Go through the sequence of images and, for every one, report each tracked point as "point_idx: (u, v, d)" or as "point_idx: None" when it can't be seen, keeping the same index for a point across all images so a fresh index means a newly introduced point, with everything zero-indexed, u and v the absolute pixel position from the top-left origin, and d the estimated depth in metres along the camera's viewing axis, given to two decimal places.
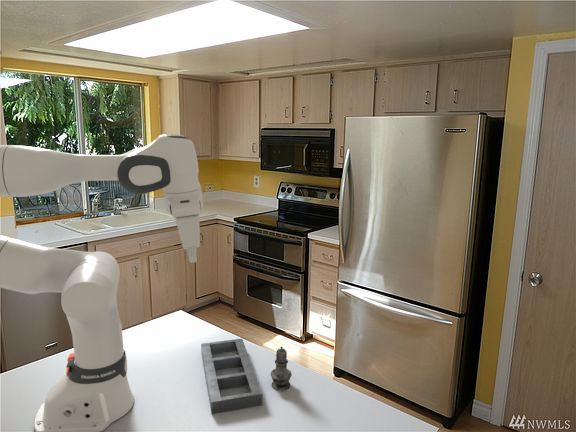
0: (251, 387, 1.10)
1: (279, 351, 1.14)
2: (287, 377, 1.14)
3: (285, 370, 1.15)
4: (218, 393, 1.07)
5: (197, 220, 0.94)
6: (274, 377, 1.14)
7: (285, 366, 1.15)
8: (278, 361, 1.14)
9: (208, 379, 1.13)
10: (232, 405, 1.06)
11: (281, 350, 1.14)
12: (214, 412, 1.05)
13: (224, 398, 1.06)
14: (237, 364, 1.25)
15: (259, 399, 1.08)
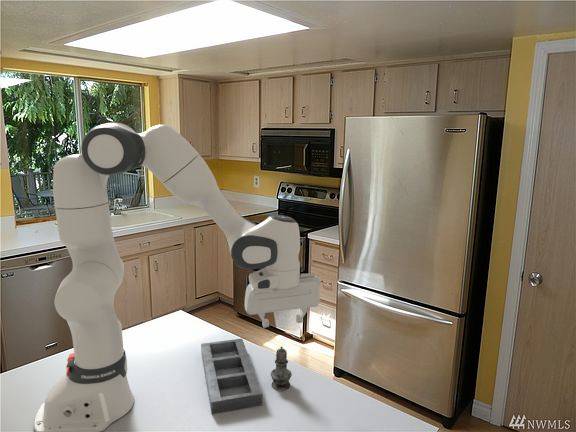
0: (251, 387, 1.10)
1: (279, 351, 1.14)
2: (287, 377, 1.14)
3: (285, 370, 1.15)
4: (218, 393, 1.07)
5: (250, 293, 1.06)
6: (274, 377, 1.14)
7: (285, 366, 1.15)
8: (278, 361, 1.14)
9: (208, 379, 1.13)
10: (232, 405, 1.06)
11: (281, 350, 1.14)
12: (214, 412, 1.05)
13: (224, 398, 1.06)
14: (237, 364, 1.25)
15: (259, 399, 1.08)
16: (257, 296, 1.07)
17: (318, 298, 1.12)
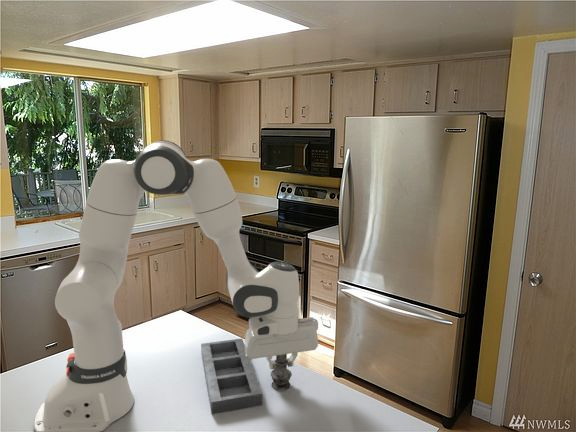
0: (251, 387, 1.10)
1: None
2: (287, 377, 1.14)
3: (285, 370, 1.15)
4: (218, 393, 1.07)
5: (250, 338, 1.09)
6: (274, 377, 1.14)
7: (285, 366, 1.15)
8: (278, 361, 1.14)
9: (208, 379, 1.13)
10: (232, 405, 1.06)
11: None
12: (214, 412, 1.05)
13: (224, 398, 1.06)
14: (237, 364, 1.25)
15: (259, 399, 1.08)
16: (257, 341, 1.10)
17: (316, 342, 1.15)
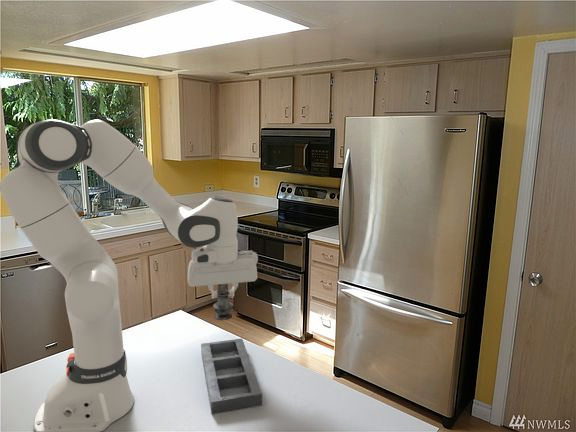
0: (251, 387, 1.10)
1: None
2: (228, 307, 1.23)
3: (226, 301, 1.23)
4: (218, 393, 1.07)
5: (190, 266, 1.17)
6: (216, 307, 1.23)
7: (226, 297, 1.23)
8: (219, 292, 1.22)
9: (208, 379, 1.13)
10: (232, 405, 1.06)
11: None
12: (214, 412, 1.05)
13: (224, 398, 1.06)
14: (237, 364, 1.25)
15: (259, 399, 1.08)
16: (197, 270, 1.18)
17: (255, 273, 1.23)
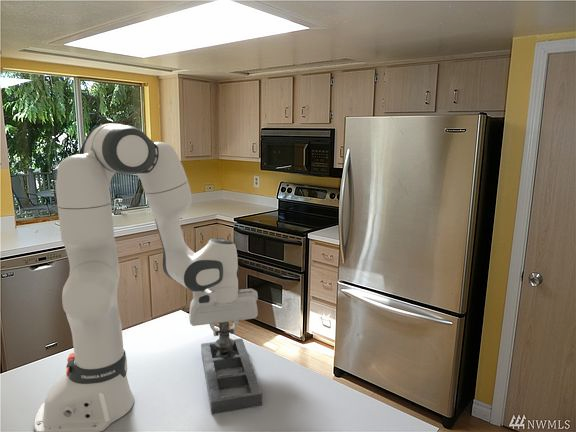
0: (251, 387, 1.10)
1: None
2: (229, 345, 1.26)
3: (228, 339, 1.26)
4: (218, 393, 1.07)
5: (192, 306, 1.20)
6: (217, 345, 1.26)
7: (227, 335, 1.26)
8: (220, 331, 1.25)
9: (208, 379, 1.13)
10: (232, 405, 1.06)
11: None
12: (214, 412, 1.05)
13: (224, 398, 1.06)
14: (237, 364, 1.25)
15: (259, 399, 1.08)
16: (199, 309, 1.21)
17: (255, 311, 1.26)
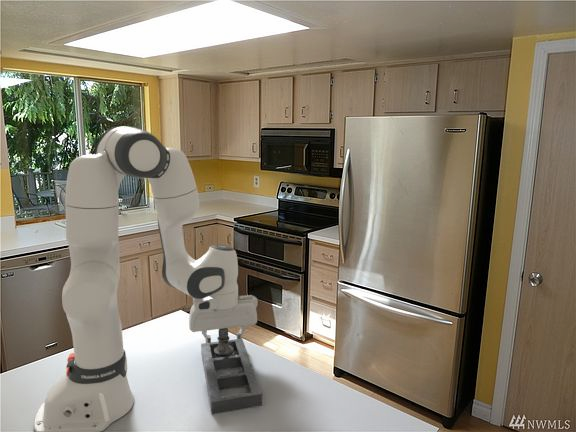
0: (251, 387, 1.10)
1: None
2: (228, 352, 1.26)
3: (227, 345, 1.27)
4: (218, 393, 1.07)
5: (192, 313, 1.20)
6: (216, 352, 1.26)
7: (226, 342, 1.26)
8: (220, 337, 1.26)
9: (208, 379, 1.13)
10: (232, 405, 1.06)
11: None
12: (214, 412, 1.05)
13: (224, 398, 1.06)
14: (237, 364, 1.25)
15: (259, 399, 1.08)
16: (199, 316, 1.21)
17: (255, 317, 1.27)
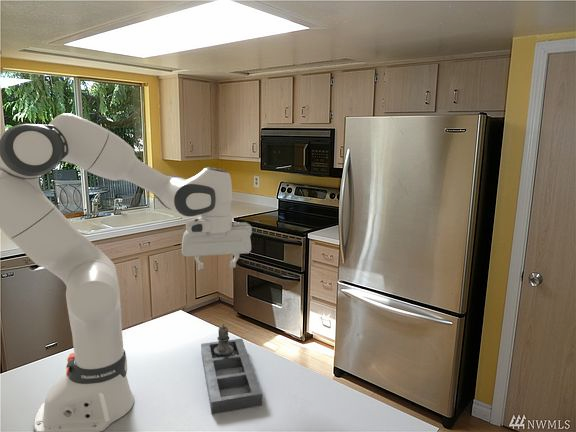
0: (251, 387, 1.10)
1: (221, 328, 1.26)
2: (228, 352, 1.26)
3: (227, 345, 1.27)
4: (218, 393, 1.07)
5: (185, 235, 1.18)
6: (216, 352, 1.26)
7: (226, 342, 1.26)
8: (220, 337, 1.26)
9: (208, 379, 1.13)
10: (232, 405, 1.06)
11: (222, 327, 1.26)
12: (214, 412, 1.05)
13: (224, 398, 1.06)
14: (237, 364, 1.25)
15: (259, 399, 1.08)
16: (191, 239, 1.19)
17: (249, 245, 1.24)
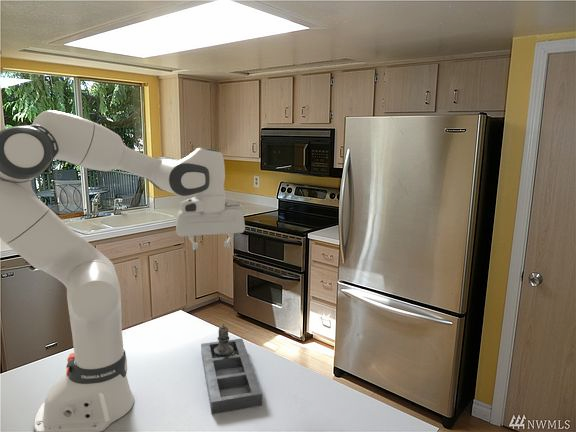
0: (251, 387, 1.10)
1: (221, 328, 1.26)
2: (228, 352, 1.26)
3: (227, 345, 1.27)
4: (218, 393, 1.07)
5: (179, 215, 1.19)
6: (216, 352, 1.26)
7: (226, 342, 1.26)
8: (220, 337, 1.26)
9: (208, 379, 1.13)
10: (232, 405, 1.06)
11: (222, 327, 1.26)
12: (214, 412, 1.05)
13: (224, 398, 1.06)
14: (237, 364, 1.25)
15: (259, 399, 1.08)
16: (185, 219, 1.21)
17: (243, 225, 1.26)
